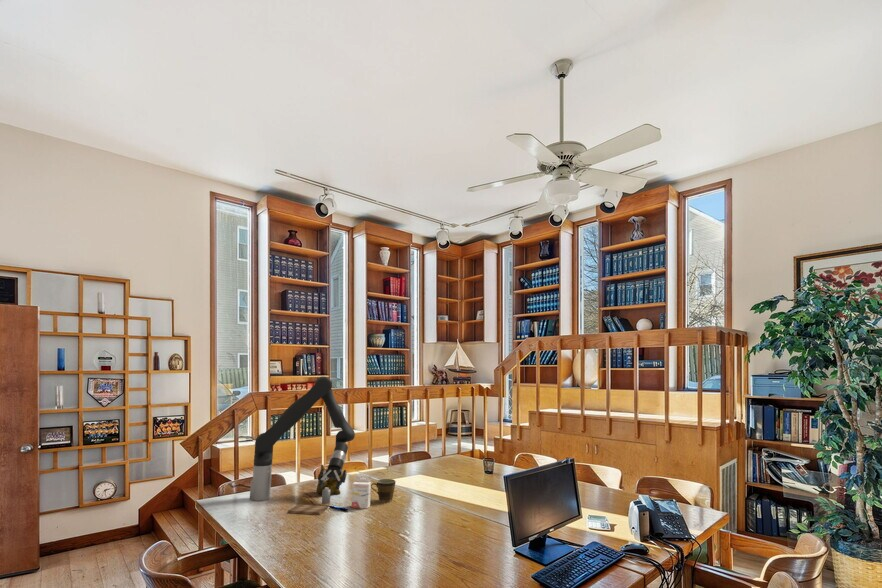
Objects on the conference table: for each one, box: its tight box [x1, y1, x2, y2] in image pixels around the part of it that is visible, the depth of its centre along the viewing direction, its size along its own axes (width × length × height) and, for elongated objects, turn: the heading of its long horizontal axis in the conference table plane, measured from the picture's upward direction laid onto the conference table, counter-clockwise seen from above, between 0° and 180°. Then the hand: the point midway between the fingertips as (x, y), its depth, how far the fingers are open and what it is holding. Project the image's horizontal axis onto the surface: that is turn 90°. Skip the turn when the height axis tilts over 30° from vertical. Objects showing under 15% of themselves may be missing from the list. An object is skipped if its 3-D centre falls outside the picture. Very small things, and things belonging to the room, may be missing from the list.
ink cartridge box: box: [351, 474, 372, 509], centre depth 240 cm, size 9×5×15 cm, turn 84°
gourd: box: [315, 464, 343, 495], centre depth 264 cm, size 14×14×14 cm
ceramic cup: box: [371, 478, 397, 504], centre depth 250 cm, size 13×10×10 cm
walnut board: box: [287, 503, 329, 516], centre depth 231 cm, size 16×10×1 cm, turn 82°
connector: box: [321, 487, 331, 507], centre depth 241 cm, size 4×4×9 cm
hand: (328, 488), depth 244 cm, fingers open, 8 cm apart
